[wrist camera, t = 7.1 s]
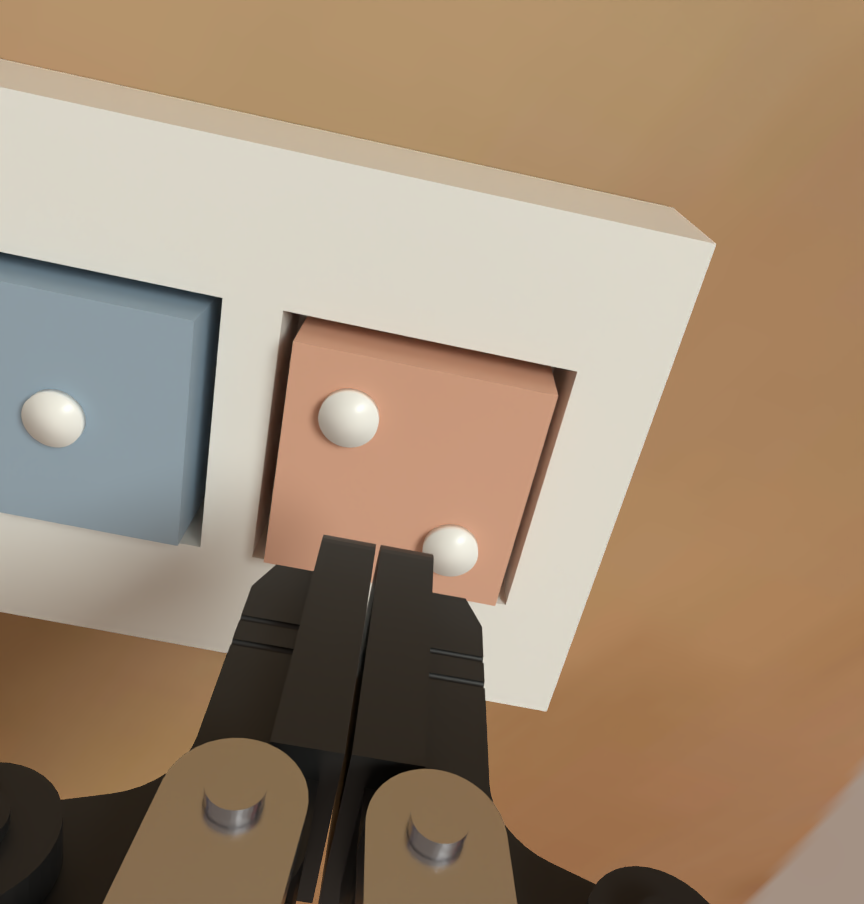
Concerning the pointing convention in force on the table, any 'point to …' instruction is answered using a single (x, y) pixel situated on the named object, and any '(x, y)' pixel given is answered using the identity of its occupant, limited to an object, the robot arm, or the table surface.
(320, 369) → the two-dot button
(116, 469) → the one-dot button
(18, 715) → the table surface
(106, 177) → the button panel
